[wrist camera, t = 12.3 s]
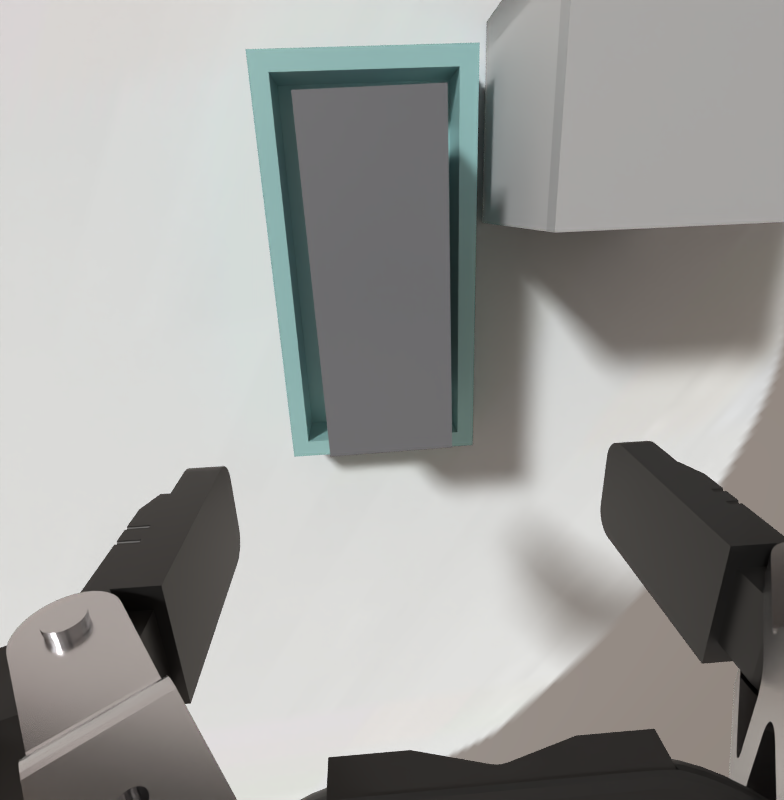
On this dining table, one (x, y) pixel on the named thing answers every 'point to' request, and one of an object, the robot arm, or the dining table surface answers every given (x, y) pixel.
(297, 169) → the tray
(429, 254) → the tall grey pillar
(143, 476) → the dining table surface
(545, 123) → the light grey block
